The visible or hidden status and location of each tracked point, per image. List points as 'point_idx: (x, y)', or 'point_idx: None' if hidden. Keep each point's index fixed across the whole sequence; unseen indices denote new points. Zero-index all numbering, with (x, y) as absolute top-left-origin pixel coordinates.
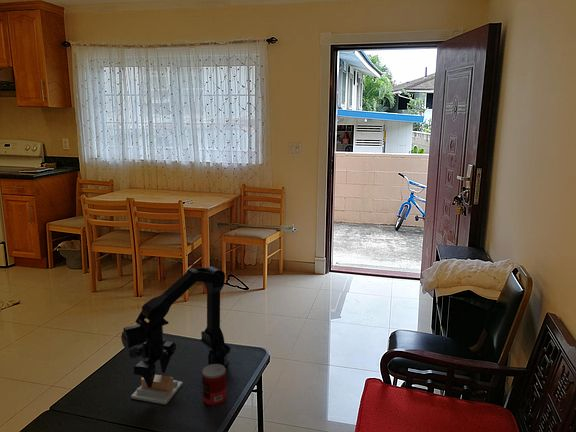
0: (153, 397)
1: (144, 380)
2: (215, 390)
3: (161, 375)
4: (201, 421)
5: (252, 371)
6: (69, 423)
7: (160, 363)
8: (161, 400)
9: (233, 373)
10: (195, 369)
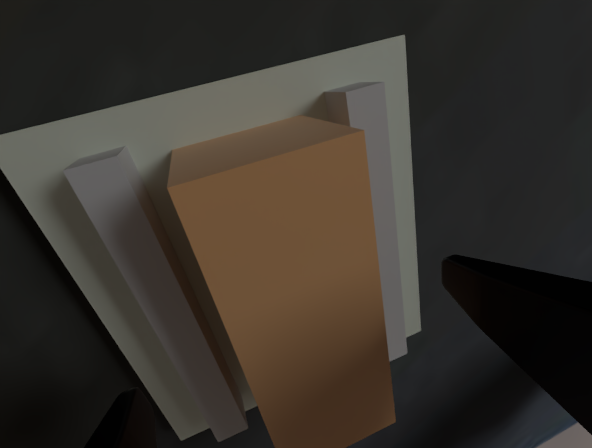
0: (156, 345)
1: (192, 247)
2: None
3: (383, 332)
4: None
5: (557, 429)
6: None
7: (575, 309)
8: (171, 414)
9: (540, 400)
10: (556, 252)
